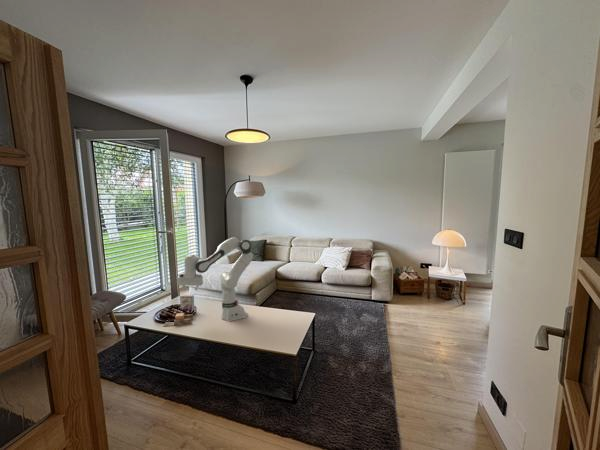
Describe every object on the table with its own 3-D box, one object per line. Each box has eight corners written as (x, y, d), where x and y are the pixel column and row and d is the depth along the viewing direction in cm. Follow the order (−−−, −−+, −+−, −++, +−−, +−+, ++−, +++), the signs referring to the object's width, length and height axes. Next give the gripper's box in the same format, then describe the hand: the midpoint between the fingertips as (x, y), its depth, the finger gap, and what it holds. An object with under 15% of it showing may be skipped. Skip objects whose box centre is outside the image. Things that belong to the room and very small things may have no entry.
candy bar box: (180, 313, 229) (179, 296, 228) (183, 311, 234) (182, 294, 233) (191, 313, 228) (191, 296, 227) (194, 311, 233) (194, 294, 232)
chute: (193, 318, 219) (192, 314, 219) (191, 323, 209) (190, 319, 209) (166, 321, 214) (166, 316, 214) (163, 326, 204) (163, 322, 204)
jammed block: (184, 319, 215) (184, 312, 215) (183, 322, 210) (182, 315, 210) (177, 320, 214) (176, 313, 213) (175, 323, 209) (175, 316, 208)
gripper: (204, 273, 214) (204, 289, 215) (180, 273, 215) (181, 288, 216) (201, 275, 208) (201, 291, 209) (176, 275, 208) (177, 291, 210)
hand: (190, 290), depth 213 cm, fingers open, 8 cm apart
